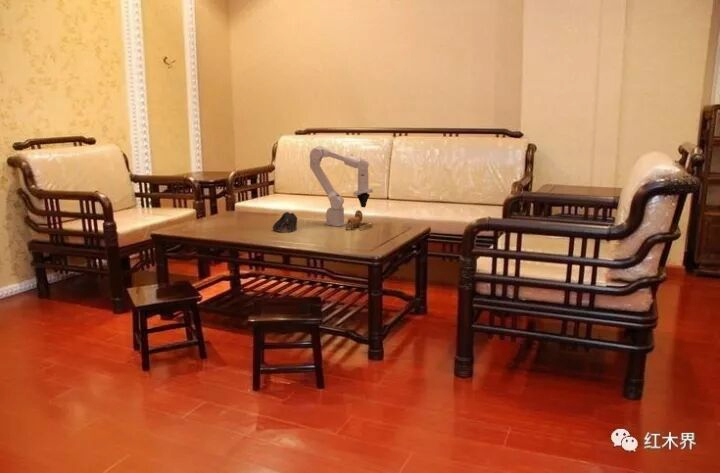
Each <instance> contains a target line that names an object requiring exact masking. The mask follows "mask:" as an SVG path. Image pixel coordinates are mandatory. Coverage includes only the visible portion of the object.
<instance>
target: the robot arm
mask: <svg viewBox="0 0 720 473" xmlns="http://www.w3.org/2000/svg"><path fill="white" fill-rule="evenodd" d="M323 158H332V159H336V160H338V161H342V162H343V163H344V165H346V166H349V167H351V168H353V169H357V171H358V172H357V190H355V191H353V192H352V193H353V196H354V197H356V198H358V200H359V204H360V208H366V207H367V203H368V199H369V198H370V193H372V194H373V191H374V189H373V188H369V162H368V160H367V159H364V158H363V159H362V157H357V156H354V154H352V153H350V154H346V155H344V154H343V153H340V152H337V151H335V150H333V149H330V148H327V147H323V146H316V147H313V148H312V149H311V151H310V152H309V168H310V170H311V171H312V173H313V174H314V176H315V178H316V179H317V181H318V182H319V184H320V185H321V187H322V189H323V190H324V192H325V194H326V195H327V199H328V201H329V204H330V207H328V208H327V210H326V212H325V215H326V216H325V217H326V218H325V219H326V222H325V225H327V226H333V227H341V226H346V225H347V222H345V207H344V206H343V205H344V202H345V200H344V197H343V196H342V195H341V194H339V192H338V191H336V189H335V188H334V186H333V185H332V183H331V181H330V179H329V178H328V177H327V175H326V174H325V172H324V170H323V168H322V167H321V162H322V160H323Z"/></svg>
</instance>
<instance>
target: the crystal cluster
mask: <svg viewBox="0 0 720 473" xmlns="http://www.w3.org/2000/svg"><path fill="white" fill-rule="evenodd" d="M297 229H298V217H297V215H295V213H294V212H291V213H290V212H288V211H285V212H284V213H282V215H281V217H280V218H279V219H278V220H277V221H276V222H275V223H274V224H273V226H272V230H273V231H275V232H279V233H292V232H295V231H298V230H297Z"/></svg>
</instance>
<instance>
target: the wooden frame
mask: <svg viewBox="0 0 720 473" xmlns="http://www.w3.org/2000/svg"><path fill="white" fill-rule="evenodd" d="M356 226H357V227H359V223H356ZM371 227H372V228H373V223H370V222H364V221H361V226H360V228H359V231H360V232H361V231H364V229H365V230H368V229H371ZM348 228H350V229H352V228H351V223H350V224H349V225H348ZM353 228H355V224H354V225H353Z"/></svg>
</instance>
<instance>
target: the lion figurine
mask: <svg viewBox="0 0 720 473" xmlns="http://www.w3.org/2000/svg"><path fill="white" fill-rule="evenodd" d="M361 222H363V212H362V210H356V211H355V213H354V216H350V217H348V218H347V221H346V223H347V224H346V225H345V231H349V229H348V225H349V224H351V228H350V229H352V230H353V231H356V228H357V227H358V228H359V229H360V226H361ZM356 223H359V226H356ZM354 224H355V227H356V228H355V227H353V225H354Z"/></svg>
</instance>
